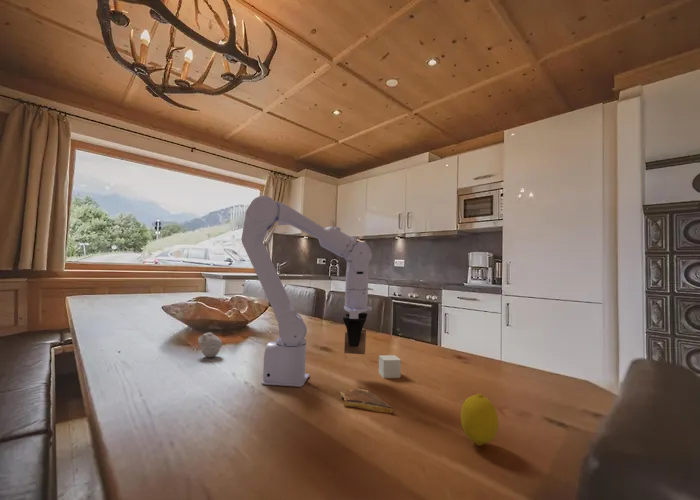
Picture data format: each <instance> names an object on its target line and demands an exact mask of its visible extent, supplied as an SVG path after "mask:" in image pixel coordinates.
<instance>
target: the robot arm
mask: <svg viewBox="0 0 700 500" xmlns="http://www.w3.org/2000/svg"><path fill="white" fill-rule="evenodd" d="M244 218H245V219H244V222H243V223H244V224H243V228H242V234H241V244H242V245H243V248H244V249H245V250H244V251H245V253H246V254H247V256H248V258H249V261H250V263H251V265H252V267H253V270H254V272H255V274H256V276H257V277H258V281H259V283H260V284H261V287H262V289H263V291H264V293H265V295H266V297H267V300H268V303H269V304H270V306H271V309H272V311H273V313H274V316H275V319H276V321H277V323H278V324H277V325H278V338H276V339H275V341H270V342H268V343H266V347H265V348H264V354H263V356H264V357H263V373H262V375H263V376H262V381H261V384H262V385H269V386H270V385H271V386H285V387H297V388H298V387H299V388H300V387H303V386H304V385H305V383H306V382H307V380H308V378H309V376H310V373H306V362H307V360H306V359H307V358H306V357H307V339H305V338H306V335H307V330H308V328H307V324H306V323H305V321H304V319H303V317H302V316H301V315H300V314H299V313H297V312H296V311H295V309H294V307H293V305H292V303H291V300H290V298H289V296H288V294H287V291H286V289H285V287H284V285H283V283H282V280H281V278H280V277H279V274H278V272H277V270H276V267H275V265H274V263H273V260H272V258H271V257H270V254H269V252H268V250H267V248H266V245H265V243H264V241H265V238H266V236H267V234H268V231H269V230H270V229H271V228H272V227H273V226H274V225H275V223H276V222H277V226H291V227H294V228H295V229H298V230H300V231H301V232H303V233H306V234H307V235H309V236H311V237H313V238H315V239H317V240H318V243H319V246H320V247H321V248H323V249H326V250H327V251H329V252H331V253H332V254H335V256H338V257H340V258H342V259H343V258H344V260H345V261H346V271H345V287H344V288H345V290H344V291H345V292H344V293H345V294H344V306H343V310H344V311H346V313H345V315H344V316H342V321H343V323H344V325H345V329H346V330H347V333H348V340H349V345H350V347H358V346H359V342H360V336H361V331H362V330H363V329H364V325H365V323H366V321H367V317H368V313H367V312H368V311H372V310H373V308H372V306H368V299H369V298H368V297H369V296H368V295H369V290H368V289H369V263H370V261H371V260H372V258H373V252H372V249H371V248H370V247H369V245H368V243H366V242H363V241H357V239H358V237H356V236H350V235H348V234H347V233H345V232H343V231H342V230H341V227H339V226H335V227H334V226H332V225H331V226H327V227H323V226H322V225H320V224H319V223H317V222H315V221H314V220H312V219H311V218H309V217H307V216H306V215H304V214H302V213H300V212H299V211H297V210H295V209H293V207H291V206H289V205H287V204H285V203H283V202H281V201H278V200H277V201H275V199H273V198H272V197H270V196H268V195H259V196H257V197H255V198H254V199H252V201H251V202H250V204H249V205H248V207H247V208H246V210H245V216H244Z"/></svg>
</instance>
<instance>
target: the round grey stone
mask: <svg viewBox="0 0 700 500" xmlns="http://www.w3.org/2000/svg"><path fill="white" fill-rule="evenodd" d="M197 343H198V347H200V349H201V354H202V355H203V356H205V357H206V358H215V356H217V355H218V354H219V352H220V350H221V349H222V346H223V340H221V338H220V337H218V336H217V335H216V334H214V333H213V332H205V333H204V334H202V335H200V336H199V337H198V339H197Z"/></svg>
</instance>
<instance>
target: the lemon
mask: <svg viewBox="0 0 700 500" xmlns="http://www.w3.org/2000/svg"><path fill="white" fill-rule="evenodd" d="M497 412H498V411H497V410H496V406H495V405H494V404H493V402H492V401H491V400H490V399H488V397H486V396H484V395H483V394H482V393H477V394H474V395H471V396H470V395H469V397H467V398H466V399H465V400H464V402H463V404H462V406H461V411H460V423H461V427H462V430H463V432H464V434H465V435H466V436H467V438H468V439H469V440H470V441H472V442H474V443H475V445H476V446H478V447H481V446H483V445H485V444H488V443H490V442H492V441H493V440H495V438H496V436H497V433H498V429H499V418H498V413H497Z"/></svg>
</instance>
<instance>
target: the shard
mask: <svg viewBox="0 0 700 500" xmlns="http://www.w3.org/2000/svg"><path fill="white" fill-rule="evenodd" d="M339 394H340V396H341V397H342V398H344V399H343V406H344V407H352V408H358V409H364V410H369V411H373V412H379V413H385V414H386V413H388V414H393V411H394V410H395V407H393V406H391V405H390V404H388V403H387V402H385V401H384V400H383V399H382V398H381V397H379V396H378V395H377V394H375V393H374V392H372V391H370V390H369V389H361V388H354V389H349V390H348V389H347V390H341V391H340V392H339Z"/></svg>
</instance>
